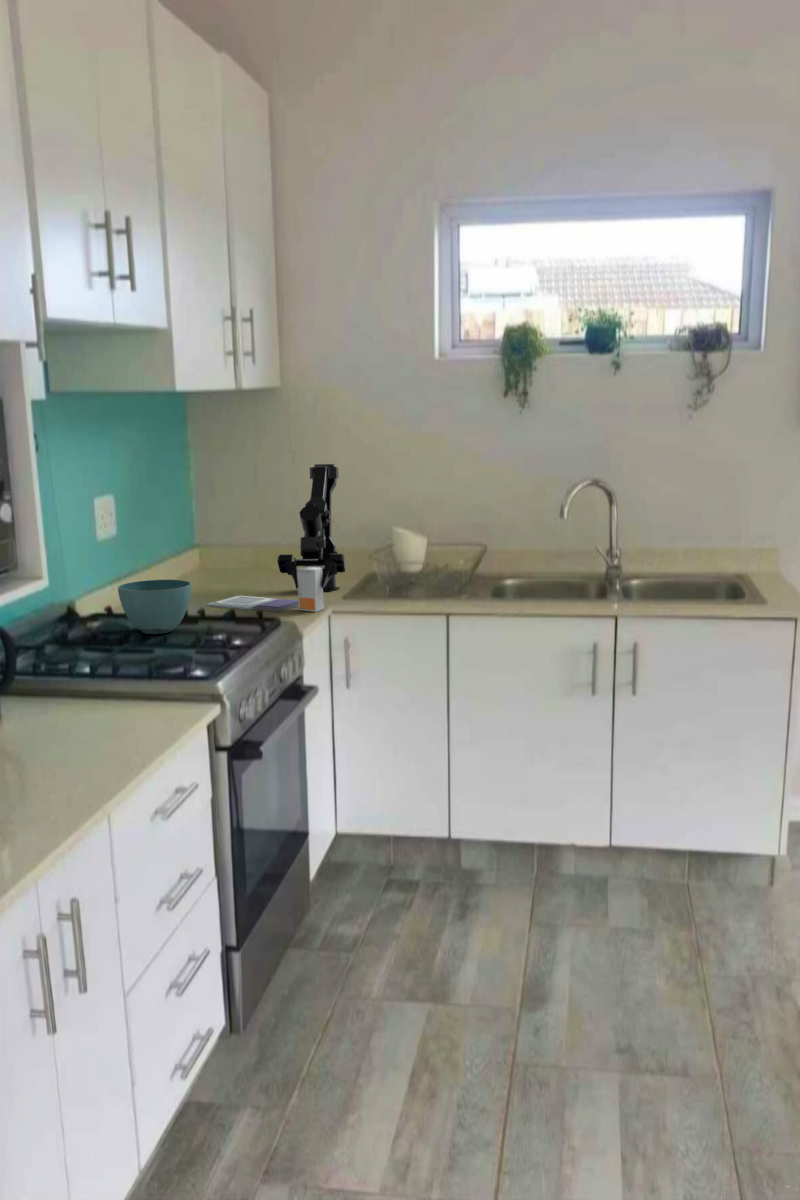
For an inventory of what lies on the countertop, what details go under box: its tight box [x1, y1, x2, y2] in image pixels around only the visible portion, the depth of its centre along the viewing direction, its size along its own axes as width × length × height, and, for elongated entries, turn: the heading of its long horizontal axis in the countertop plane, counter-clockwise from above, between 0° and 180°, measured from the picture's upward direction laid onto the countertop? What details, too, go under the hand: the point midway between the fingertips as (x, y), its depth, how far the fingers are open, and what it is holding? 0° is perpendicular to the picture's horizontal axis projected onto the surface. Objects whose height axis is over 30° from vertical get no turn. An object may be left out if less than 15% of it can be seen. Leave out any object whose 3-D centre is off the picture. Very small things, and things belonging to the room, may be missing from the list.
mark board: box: [206, 594, 278, 611], centre depth 303 cm, size 15×15×1 cm
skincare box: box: [297, 566, 325, 613], centre depth 289 cm, size 6×4×12 cm
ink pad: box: [253, 598, 298, 613], centre depth 296 cm, size 12×9×1 cm
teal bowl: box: [117, 579, 192, 629], centre depth 265 cm, size 18×18×12 cm
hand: (309, 587), depth 288 cm, fingers closed on skincare box, 7 cm apart
